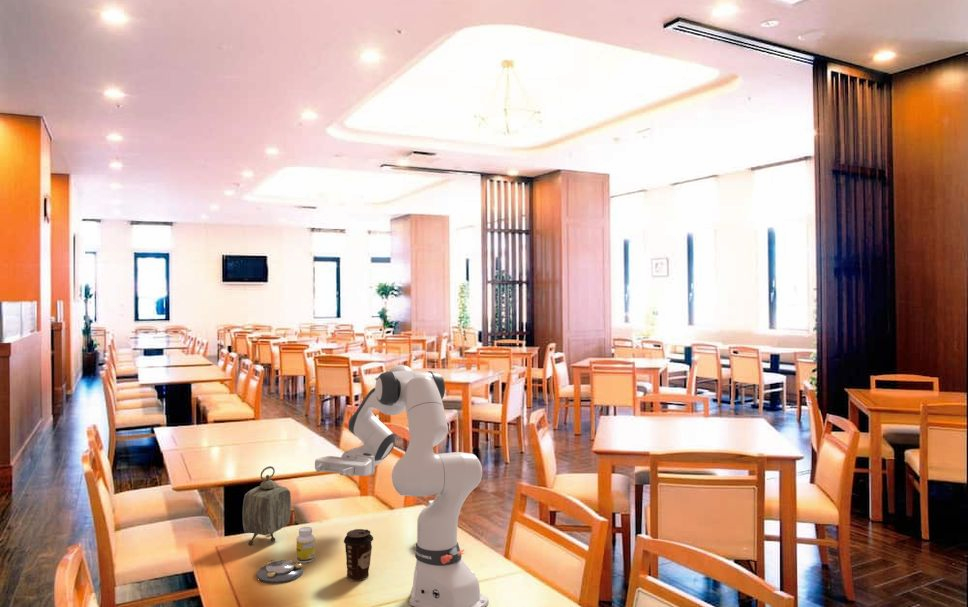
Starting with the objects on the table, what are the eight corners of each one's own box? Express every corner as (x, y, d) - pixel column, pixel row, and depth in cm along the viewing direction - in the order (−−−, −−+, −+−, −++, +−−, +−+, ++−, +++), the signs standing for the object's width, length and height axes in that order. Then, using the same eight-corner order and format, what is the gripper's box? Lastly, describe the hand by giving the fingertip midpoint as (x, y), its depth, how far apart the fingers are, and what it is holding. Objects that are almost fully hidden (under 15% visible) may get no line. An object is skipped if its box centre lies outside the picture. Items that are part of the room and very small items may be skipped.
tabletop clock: (270, 532, 231) (271, 460, 230) (292, 535, 227) (293, 463, 227) (242, 546, 217) (242, 470, 217) (264, 550, 214) (265, 473, 214)
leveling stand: (311, 573, 196) (311, 565, 196) (271, 587, 187) (271, 578, 187) (288, 561, 205) (288, 553, 205) (248, 574, 195) (249, 565, 195)
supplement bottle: (295, 557, 208) (296, 526, 208) (313, 555, 210) (313, 525, 210) (297, 564, 203) (297, 532, 203) (315, 562, 205) (315, 530, 205)
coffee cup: (376, 571, 198) (377, 528, 198) (369, 583, 190) (369, 538, 190) (348, 570, 199) (348, 527, 199) (339, 581, 191) (340, 537, 191)
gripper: (328, 449, 234) (304, 458, 222) (378, 455, 226) (355, 465, 214) (328, 467, 234) (303, 477, 222) (378, 474, 226) (355, 484, 214)
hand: (329, 471), depth 218 cm, fingers open, 8 cm apart
